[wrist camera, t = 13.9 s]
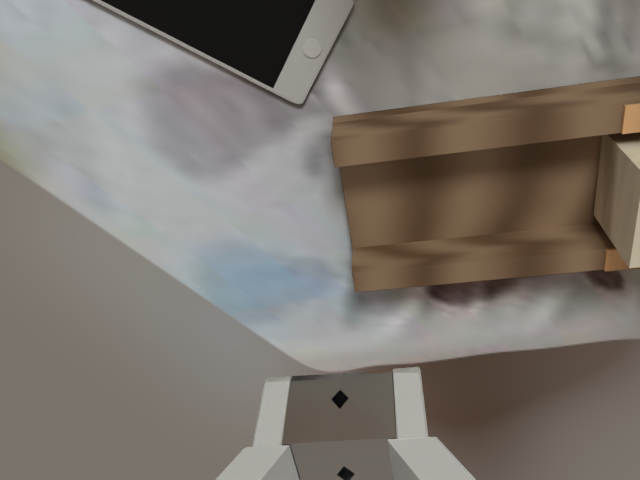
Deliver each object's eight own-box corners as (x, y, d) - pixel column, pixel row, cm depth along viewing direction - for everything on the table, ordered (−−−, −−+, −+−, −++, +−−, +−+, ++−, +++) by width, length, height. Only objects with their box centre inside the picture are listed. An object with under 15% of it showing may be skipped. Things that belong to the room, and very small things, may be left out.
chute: (355, 258, 42) (354, 294, 39) (333, 117, 37) (330, 143, 33) (675, 226, 40) (706, 262, 36) (706, 67, 34) (747, 91, 30)
